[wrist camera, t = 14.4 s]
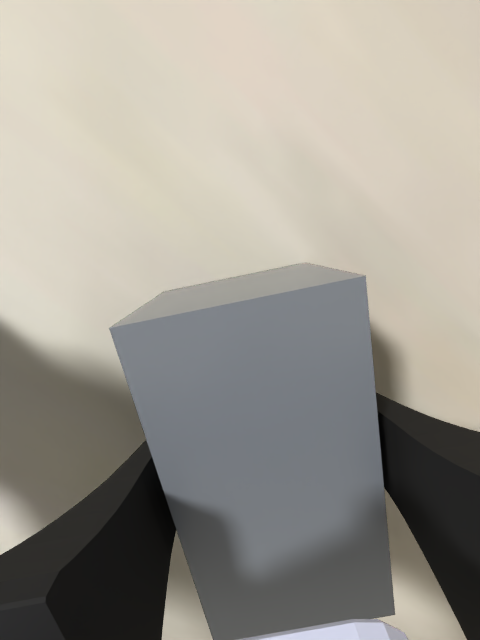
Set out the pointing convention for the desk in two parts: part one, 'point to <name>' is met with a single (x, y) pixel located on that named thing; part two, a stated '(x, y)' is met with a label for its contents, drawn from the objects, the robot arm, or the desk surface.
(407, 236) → the desk surface
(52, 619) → the robot arm
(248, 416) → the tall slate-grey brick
